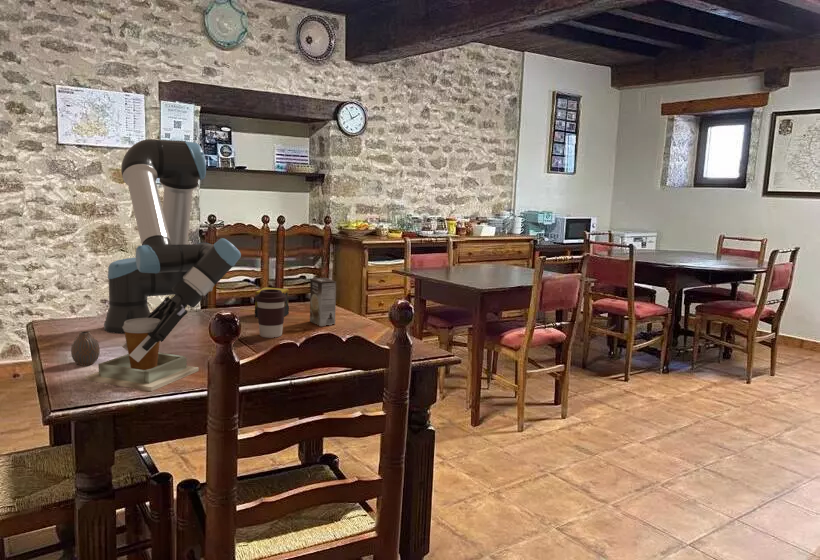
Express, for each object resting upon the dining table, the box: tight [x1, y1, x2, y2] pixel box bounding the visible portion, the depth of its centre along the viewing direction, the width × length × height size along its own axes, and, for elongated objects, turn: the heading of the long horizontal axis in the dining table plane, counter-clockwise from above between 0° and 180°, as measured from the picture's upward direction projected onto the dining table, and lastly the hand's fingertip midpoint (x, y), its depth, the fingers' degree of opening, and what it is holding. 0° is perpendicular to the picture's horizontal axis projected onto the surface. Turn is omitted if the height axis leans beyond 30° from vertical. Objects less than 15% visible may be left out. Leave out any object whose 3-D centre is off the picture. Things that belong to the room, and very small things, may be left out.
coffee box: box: [309, 277, 337, 327], centre depth 229 cm, size 9×6×16 cm
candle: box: [254, 287, 290, 319], centre depth 238 cm, size 10×10×10 cm
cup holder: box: [85, 351, 200, 392], centre depth 164 cm, size 20×18×4 cm
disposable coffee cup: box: [122, 318, 161, 370], centre depth 163 cm, size 10×10×12 cm
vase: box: [70, 330, 101, 366], centre depth 172 cm, size 7×7×9 cm
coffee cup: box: [254, 289, 286, 339], centre depth 209 cm, size 10×10×15 cm
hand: (129, 354), depth 162 cm, fingers closed on disposable coffee cup, 9 cm apart
